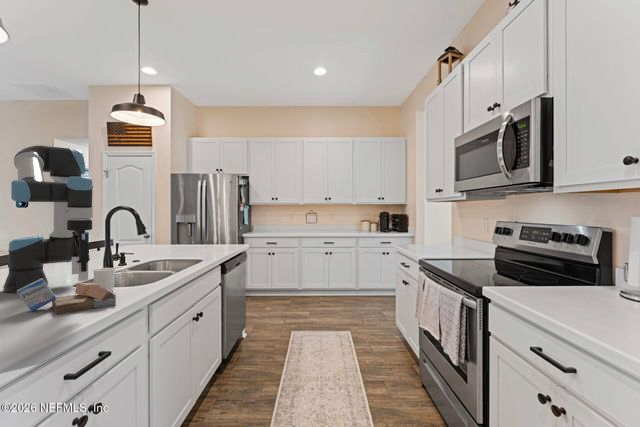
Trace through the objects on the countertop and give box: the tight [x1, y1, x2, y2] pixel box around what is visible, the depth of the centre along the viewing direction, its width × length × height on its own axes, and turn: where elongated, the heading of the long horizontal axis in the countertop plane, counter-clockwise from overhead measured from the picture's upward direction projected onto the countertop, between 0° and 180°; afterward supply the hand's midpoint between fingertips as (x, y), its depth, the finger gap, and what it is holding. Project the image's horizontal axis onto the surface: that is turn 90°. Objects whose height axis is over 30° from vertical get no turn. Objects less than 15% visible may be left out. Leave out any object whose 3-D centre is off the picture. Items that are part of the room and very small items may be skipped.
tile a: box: [74, 282, 100, 296], centre depth 130 cm, size 4×6×4 cm
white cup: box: [93, 267, 116, 292], centre depth 145 cm, size 8×8×10 cm
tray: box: [90, 288, 117, 309], centre depth 129 cm, size 14×7×4 cm, turn 44°
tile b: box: [85, 285, 111, 300], centre depth 126 cm, size 4×6×4 cm
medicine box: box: [16, 278, 57, 312], centre depth 119 cm, size 8×4×9 cm, turn 133°
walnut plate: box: [51, 294, 93, 315], centre depth 123 cm, size 14×10×3 cm
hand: (79, 277), depth 122 cm, fingers open, 13 cm apart
